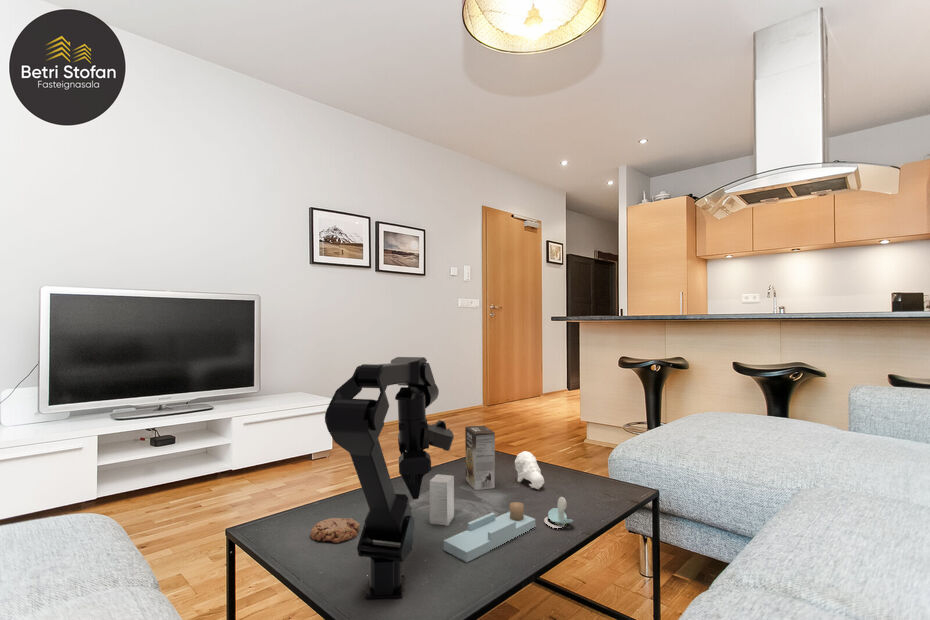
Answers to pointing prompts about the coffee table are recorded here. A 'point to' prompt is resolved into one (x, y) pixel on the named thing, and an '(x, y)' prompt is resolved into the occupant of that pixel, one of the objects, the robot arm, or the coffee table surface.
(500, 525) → the blue stand
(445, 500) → the white rectangular block
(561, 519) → the pacifier
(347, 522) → the cookie
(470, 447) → the coffee box
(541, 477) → the white animal figurine
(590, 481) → the coffee table surface
